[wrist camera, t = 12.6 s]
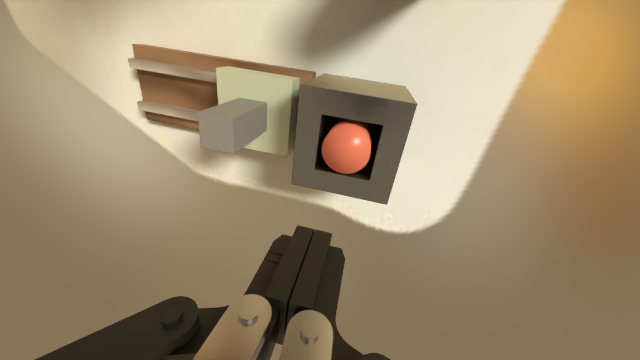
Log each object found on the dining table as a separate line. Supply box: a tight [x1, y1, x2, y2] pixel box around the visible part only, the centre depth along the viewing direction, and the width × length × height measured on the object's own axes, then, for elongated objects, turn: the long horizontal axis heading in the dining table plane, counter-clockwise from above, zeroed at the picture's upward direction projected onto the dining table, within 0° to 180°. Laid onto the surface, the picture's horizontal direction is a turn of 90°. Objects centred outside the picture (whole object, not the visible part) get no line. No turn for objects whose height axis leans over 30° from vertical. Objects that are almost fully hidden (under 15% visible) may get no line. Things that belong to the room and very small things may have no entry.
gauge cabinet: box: [292, 74, 417, 205], centre depth 26 cm, size 9×9×10 cm
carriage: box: [198, 66, 300, 157], centre depth 25 cm, size 8×8×10 cm
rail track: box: [128, 44, 316, 149], centre depth 31 cm, size 9×22×2 cm, turn 82°
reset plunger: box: [322, 117, 373, 174], centre depth 24 cm, size 4×4×6 cm
